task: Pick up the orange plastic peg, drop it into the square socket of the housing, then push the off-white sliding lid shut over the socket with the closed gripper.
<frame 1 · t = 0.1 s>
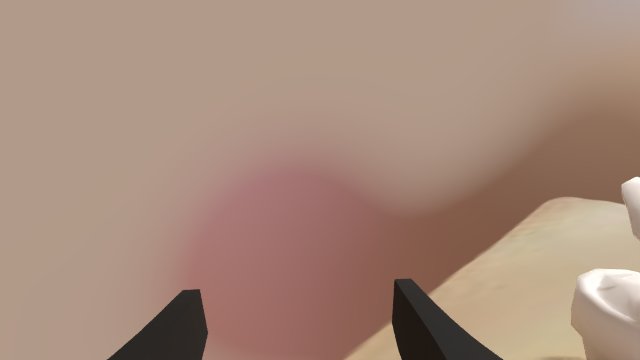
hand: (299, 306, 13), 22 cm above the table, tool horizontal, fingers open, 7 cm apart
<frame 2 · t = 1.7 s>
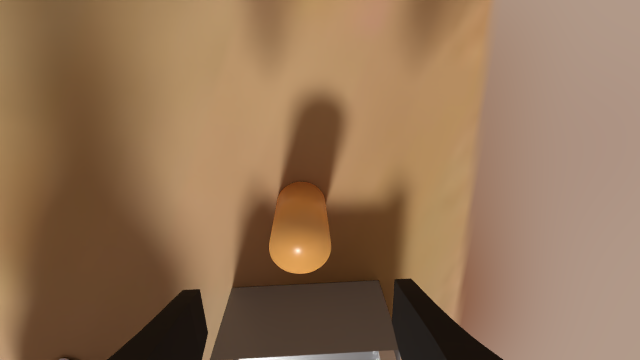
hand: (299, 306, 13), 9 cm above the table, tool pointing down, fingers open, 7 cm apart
peg: (301, 204, 21), on the table
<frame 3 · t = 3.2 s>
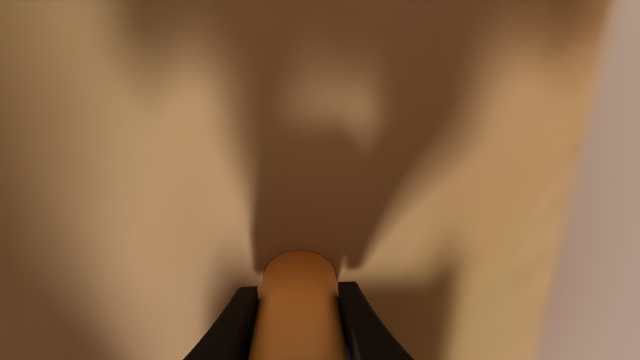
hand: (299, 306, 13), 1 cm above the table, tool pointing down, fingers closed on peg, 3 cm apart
peg: (299, 281, 14), on the table, touching gripper
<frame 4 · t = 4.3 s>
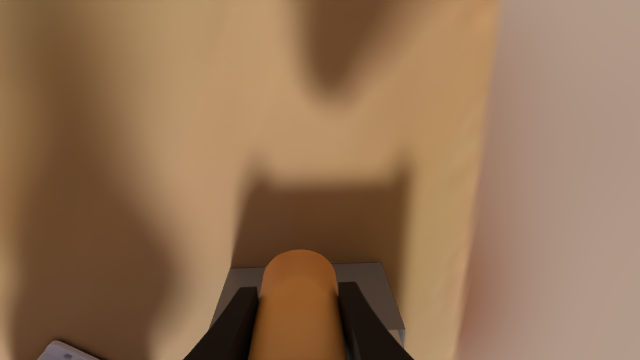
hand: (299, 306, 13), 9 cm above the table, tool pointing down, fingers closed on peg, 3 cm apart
peg: (299, 280, 14), point 7 cm above the table, touching gripper
housing: (310, 355, 25), on the table
when the fingers open (8 cm above the table, at t = 5.4 s): peg drops 7 cm, resting in housing.
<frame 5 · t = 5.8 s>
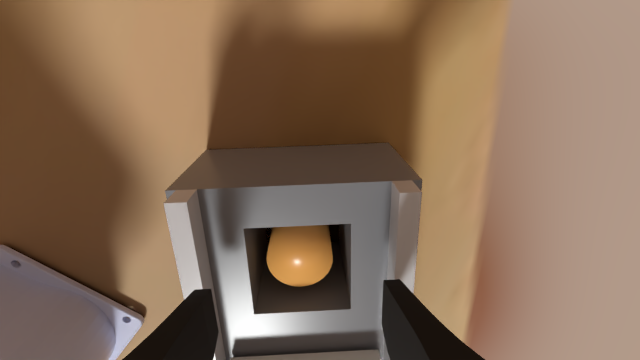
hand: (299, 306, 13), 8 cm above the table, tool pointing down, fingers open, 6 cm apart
peg: (301, 210, 20), resting in housing
housing: (304, 268, 21), on the table
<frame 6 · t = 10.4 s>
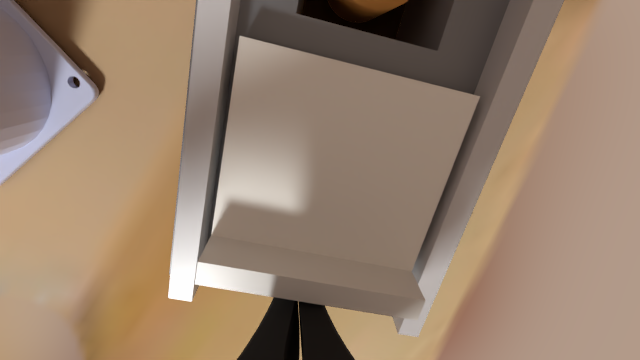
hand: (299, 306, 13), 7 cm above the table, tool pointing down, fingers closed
lid: (335, 185, 10), point 7 cm above the table, slide at 6.7 cm, touching gripper
housing: (336, 79, 16), on the table
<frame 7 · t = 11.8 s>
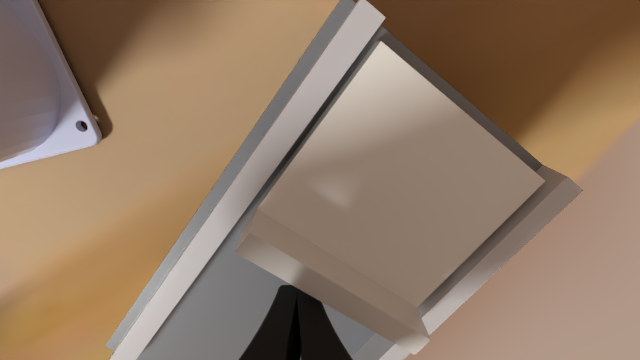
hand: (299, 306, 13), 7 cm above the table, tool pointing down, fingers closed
lid: (396, 208, 11), point 7 cm above the table, slide at 0.0 cm, touching gripper
housing: (314, 206, 18), on the table
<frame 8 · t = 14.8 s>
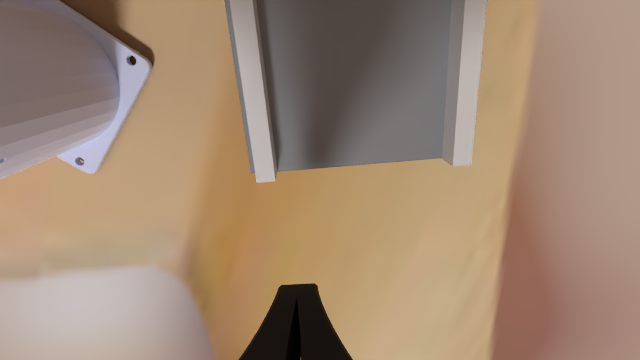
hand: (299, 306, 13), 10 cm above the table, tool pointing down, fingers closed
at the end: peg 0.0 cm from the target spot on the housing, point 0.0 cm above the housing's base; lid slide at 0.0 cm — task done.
